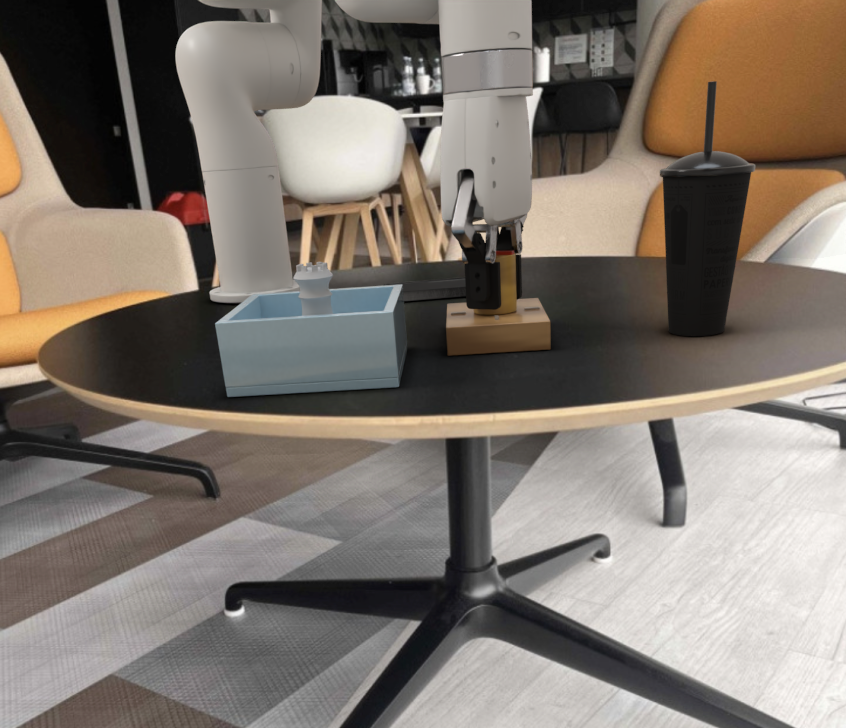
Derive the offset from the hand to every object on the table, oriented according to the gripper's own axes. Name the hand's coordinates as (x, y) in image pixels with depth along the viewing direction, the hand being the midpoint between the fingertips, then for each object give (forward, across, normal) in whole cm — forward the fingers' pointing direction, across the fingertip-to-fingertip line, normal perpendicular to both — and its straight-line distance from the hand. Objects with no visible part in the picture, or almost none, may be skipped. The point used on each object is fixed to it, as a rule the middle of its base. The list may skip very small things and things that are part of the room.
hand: (494, 301), depth 80 cm
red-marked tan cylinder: (+1, 0, 0) cm, 1 cm away
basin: (+3, +15, -10) cm, 18 cm away
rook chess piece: (+3, +15, -10) cm, 18 cm away
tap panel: (+3, 0, 0) cm, 3 cm away
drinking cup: (+4, -6, +17) cm, 19 cm away
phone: (+3, -23, -17) cm, 29 cm away
